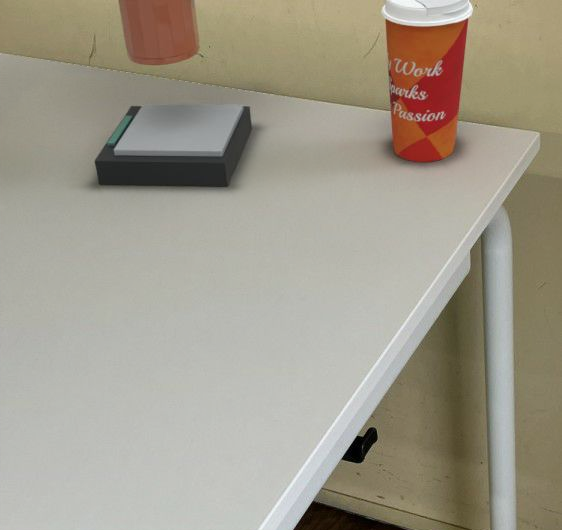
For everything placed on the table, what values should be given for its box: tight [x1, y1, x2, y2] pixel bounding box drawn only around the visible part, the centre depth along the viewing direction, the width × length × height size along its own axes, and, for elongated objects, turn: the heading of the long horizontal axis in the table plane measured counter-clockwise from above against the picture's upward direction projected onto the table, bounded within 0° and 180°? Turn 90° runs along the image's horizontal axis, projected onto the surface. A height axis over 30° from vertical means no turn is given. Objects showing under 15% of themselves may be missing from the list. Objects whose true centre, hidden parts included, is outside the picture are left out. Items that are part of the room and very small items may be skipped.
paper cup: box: [380, 0, 474, 163], centre depth 89 cm, size 8×8×14 cm
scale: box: [94, 103, 253, 187], centre depth 94 cm, size 12×12×3 cm
